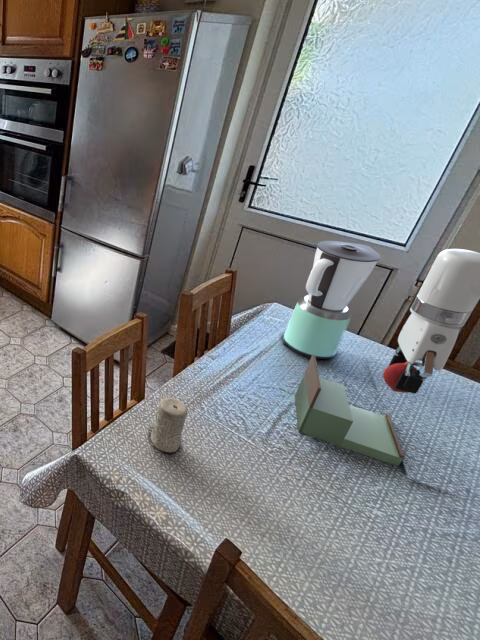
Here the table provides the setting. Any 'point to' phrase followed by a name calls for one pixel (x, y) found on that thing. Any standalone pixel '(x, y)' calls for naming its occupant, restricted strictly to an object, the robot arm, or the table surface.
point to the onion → (395, 374)
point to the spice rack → (343, 419)
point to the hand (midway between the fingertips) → (401, 380)
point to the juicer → (329, 298)
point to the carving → (168, 424)
